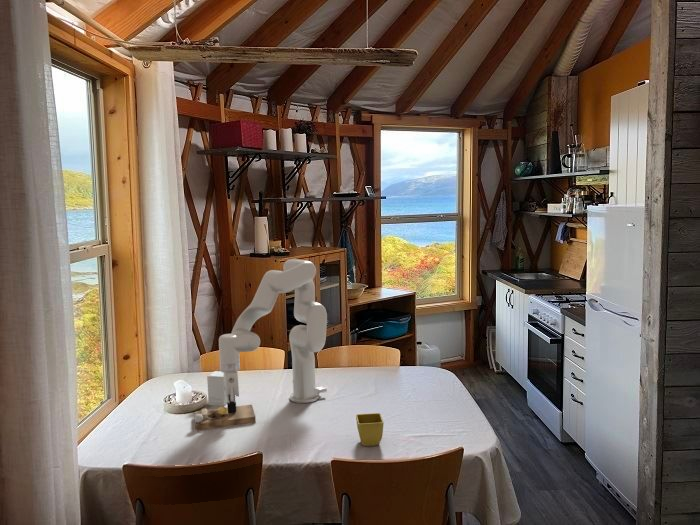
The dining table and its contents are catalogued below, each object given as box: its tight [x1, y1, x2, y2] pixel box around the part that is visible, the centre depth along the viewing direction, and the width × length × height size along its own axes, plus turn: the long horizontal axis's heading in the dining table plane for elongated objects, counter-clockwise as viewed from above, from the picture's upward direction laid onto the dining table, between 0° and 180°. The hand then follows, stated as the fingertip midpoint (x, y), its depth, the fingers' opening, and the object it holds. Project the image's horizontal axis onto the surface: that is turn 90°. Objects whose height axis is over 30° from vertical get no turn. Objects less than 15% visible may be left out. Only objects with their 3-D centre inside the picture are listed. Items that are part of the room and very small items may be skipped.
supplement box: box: [206, 370, 228, 407], centre depth 228 cm, size 7×7×13 cm
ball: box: [217, 406, 227, 415], centre depth 209 cm, size 3×3×3 cm
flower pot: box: [355, 412, 385, 447], centre depth 187 cm, size 9×9×9 cm
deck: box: [194, 404, 257, 431], centre depth 210 cm, size 22×13×4 cm, turn 106°
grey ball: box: [193, 414, 203, 423], centre depth 202 cm, size 3×3×3 cm
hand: (232, 412), depth 210 cm, fingers closed
